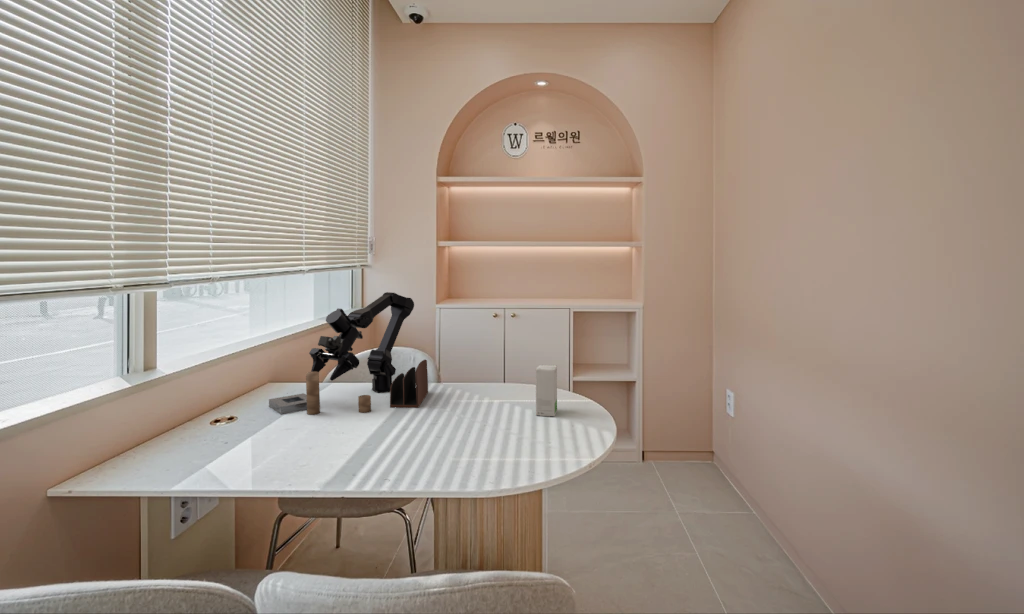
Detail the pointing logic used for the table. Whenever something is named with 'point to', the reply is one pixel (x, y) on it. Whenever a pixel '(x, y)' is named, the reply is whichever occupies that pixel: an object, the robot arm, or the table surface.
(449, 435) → the table surface
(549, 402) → the skincare box
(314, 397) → the tall pin
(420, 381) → the letter holder
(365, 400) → the stub pin
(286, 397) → the hole collar
